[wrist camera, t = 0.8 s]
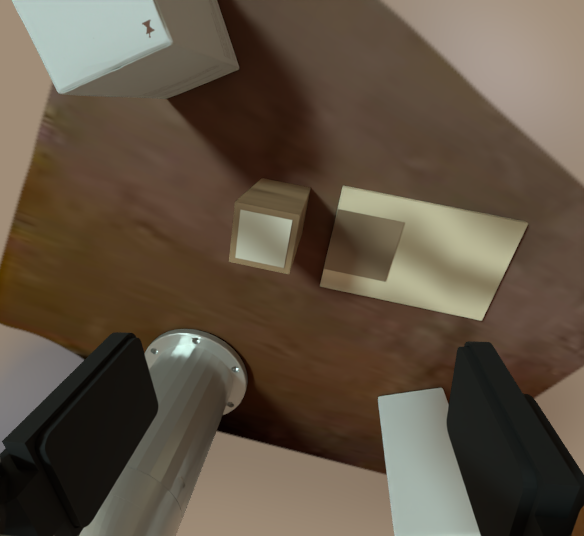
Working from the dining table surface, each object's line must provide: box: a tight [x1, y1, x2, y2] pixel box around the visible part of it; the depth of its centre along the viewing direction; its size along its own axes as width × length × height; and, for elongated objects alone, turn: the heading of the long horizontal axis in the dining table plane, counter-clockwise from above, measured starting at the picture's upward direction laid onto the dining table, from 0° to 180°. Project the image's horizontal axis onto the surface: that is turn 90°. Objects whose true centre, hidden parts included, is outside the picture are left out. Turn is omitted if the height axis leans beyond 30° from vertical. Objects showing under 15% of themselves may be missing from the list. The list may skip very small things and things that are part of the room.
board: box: [320, 186, 528, 321], centre depth 33 cm, size 10×16×1 cm, turn 80°
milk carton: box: [378, 388, 481, 536], centre depth 33 cm, size 7×7×19 cm
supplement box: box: [12, 0, 239, 99], centre depth 23 cm, size 7×7×13 cm
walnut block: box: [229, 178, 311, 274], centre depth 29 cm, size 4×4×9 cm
